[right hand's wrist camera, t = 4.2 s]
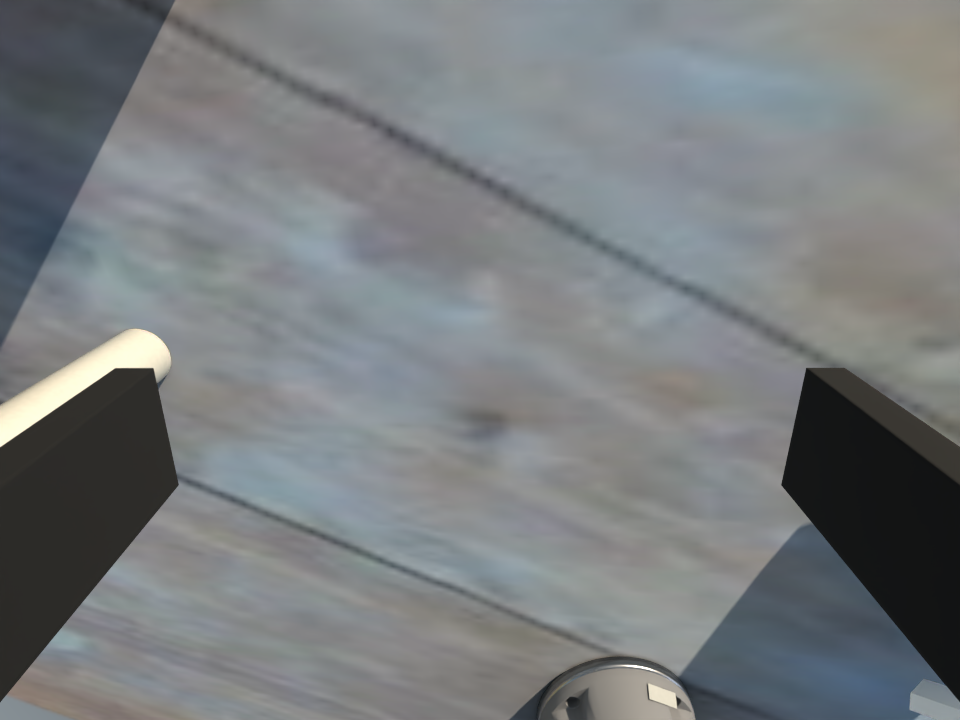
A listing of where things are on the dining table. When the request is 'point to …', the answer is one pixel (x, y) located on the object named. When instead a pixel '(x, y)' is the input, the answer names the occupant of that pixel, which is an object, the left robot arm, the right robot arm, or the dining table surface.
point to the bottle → (82, 378)
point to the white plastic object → (934, 701)
